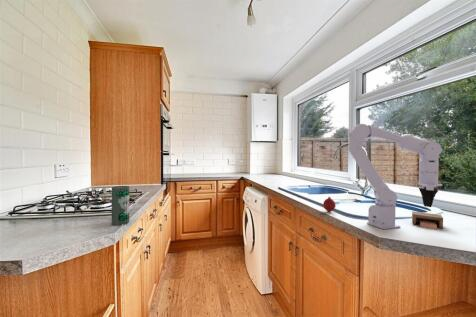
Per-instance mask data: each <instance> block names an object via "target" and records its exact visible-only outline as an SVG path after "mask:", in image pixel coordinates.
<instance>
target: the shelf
mask: <svg viewBox="0 0 476 317" xmlns="http://www.w3.org/2000/svg"><path fill="white" fill-rule="evenodd" d="M411 218H412V219H411V222H412V225H413V226H414V225H417V223H418V224H419V220H424V221H431V222H435V223H436V225H437V228H438V229H440V230H442V229H444V217H443V216H442V214H439V213H438V214H437V213H429V212H428V213H427V212H421V211H412V212H411Z"/></svg>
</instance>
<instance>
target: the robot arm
mask: <svg viewBox="0 0 476 317" xmlns="http://www.w3.org/2000/svg"><path fill="white" fill-rule="evenodd" d="M369 138H379V139H382V140H386V141H389V142H392V143H396V144H397V146H398V147H399V148H401V149H404V150H407V151H410V152H412V153H416V154H418V155H419V160H418V161H419V162H418V182H417V183H418V184H417V185H418V186H423V187H418V189H419V190H418V191H419V192H420V195H421V197H422V198H421V199H422V203H423V207H426V208H432V206H433V203H434V199H435V197H436V195H437V193H438V192H439V190H438V188H437V187H442V186H443V184H442V183H439V166H440V165H439V162H440V161H439V158H440V157H439V155H441V154H442V153H443V148H442V146H441V144H439V142H436V141H432V140H430V141H428V138H426V137H425V138H424V137H423V138H420V137H418V136H415V135H414V134H413V133H408V134H407V133H404V134H402V135H401V134H397V133H395V132H391V131H389V130H386V129H382V128H380V127H377V126H375V125H369V124H368V125H367V124H366V123H358V124H357V125H355V126H354V127H353V128H352V129H351V130H350V133H349V134H348V146H347V149H348V152H349V153H350V155H351V156H352V158H353V159H354V161H355V162H356V164H357V166H358V167H359V169H360V170H361V172H362V173H363V175H364V177H365V178H366V179H367V181H368V182H369V184H370V186H371V188H372V190H373V195H374V198H375V199H376V200H375V201H374V204H372V205H370V206H369V207H368V215H367V216H368V220H367V221H366V224H368V225H369V226H370V225H371V226H373V227H376V228H378V229H382V230H387V229H397V228H401V225H398V224H396V202H397V201H398V195H397V193H396V192H395V191H394V190H392V189H390V188H389V186H388V185H387V183H385V182H384V180H383V179H382V177H381V175H380V174H379V172H378V171H377V169H376V168H375V167H374V165H373V163H372V161H370V159H369V157H368V155H367V154H366V153H365V152H364V149H362V148H363V146H364V142H365V140H367V139H369Z"/></svg>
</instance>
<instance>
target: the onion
mask: <svg viewBox="0 0 476 317" xmlns="http://www.w3.org/2000/svg"><path fill="white" fill-rule="evenodd" d="M322 206H323V209H325V211H327V212H328V213H331V212H333V211H334V210H335V208H336V202H335V201H334V199H332V198H331V196H328V197H327V199H324V201H323V203H322Z"/></svg>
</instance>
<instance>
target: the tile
mask: <svg viewBox="0 0 476 317" xmlns="http://www.w3.org/2000/svg"><path fill="white" fill-rule="evenodd" d="M418 224H419V227H420V228H422V229H424V228H425V229H431V230H437V229H438V225H436V223H435V222H431V221H424V220H419V223H418Z"/></svg>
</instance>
